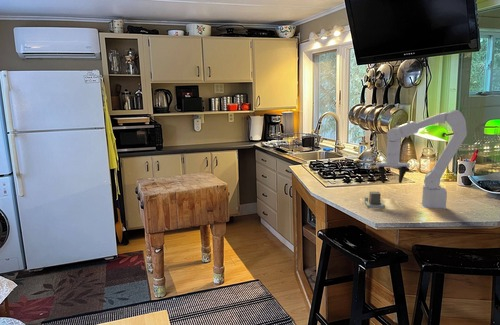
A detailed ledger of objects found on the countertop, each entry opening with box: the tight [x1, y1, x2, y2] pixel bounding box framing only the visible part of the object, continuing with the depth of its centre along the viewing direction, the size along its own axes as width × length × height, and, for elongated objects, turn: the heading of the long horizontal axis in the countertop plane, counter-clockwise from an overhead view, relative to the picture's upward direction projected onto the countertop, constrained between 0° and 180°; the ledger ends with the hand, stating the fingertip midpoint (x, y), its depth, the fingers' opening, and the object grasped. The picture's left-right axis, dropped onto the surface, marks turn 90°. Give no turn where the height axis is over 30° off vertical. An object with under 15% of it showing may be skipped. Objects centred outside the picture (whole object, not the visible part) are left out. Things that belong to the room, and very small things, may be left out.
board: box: [358, 197, 405, 211], centre depth 171 cm, size 16×18×1 cm
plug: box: [368, 191, 382, 205], centre depth 172 cm, size 4×12×6 cm, turn 173°
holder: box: [365, 201, 385, 208], centre depth 168 cm, size 8×7×1 cm
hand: (391, 182), depth 174 cm, fingers open, 7 cm apart
